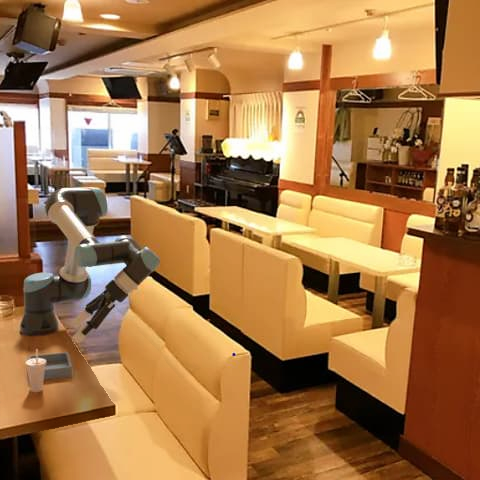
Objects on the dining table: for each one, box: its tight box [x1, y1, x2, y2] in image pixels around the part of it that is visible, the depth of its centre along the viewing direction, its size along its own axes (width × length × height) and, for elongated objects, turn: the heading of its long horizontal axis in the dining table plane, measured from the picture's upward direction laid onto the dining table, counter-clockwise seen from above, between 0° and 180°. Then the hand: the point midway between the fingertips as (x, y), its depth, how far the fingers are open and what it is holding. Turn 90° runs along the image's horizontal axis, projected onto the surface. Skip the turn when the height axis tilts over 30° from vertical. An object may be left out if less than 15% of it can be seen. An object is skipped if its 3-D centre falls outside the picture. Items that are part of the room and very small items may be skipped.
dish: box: [27, 351, 73, 381], centre depth 198 cm, size 14×14×4 cm
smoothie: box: [25, 348, 46, 393], centre depth 183 cm, size 6×6×14 cm
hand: (74, 333), depth 185 cm, fingers open, 13 cm apart
